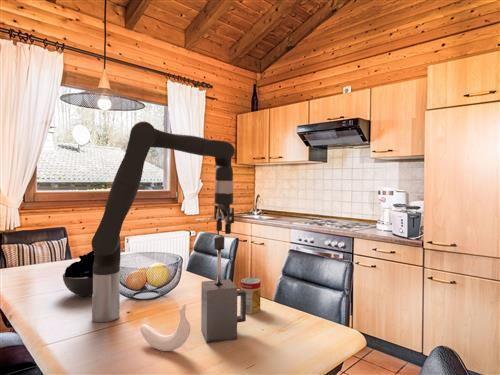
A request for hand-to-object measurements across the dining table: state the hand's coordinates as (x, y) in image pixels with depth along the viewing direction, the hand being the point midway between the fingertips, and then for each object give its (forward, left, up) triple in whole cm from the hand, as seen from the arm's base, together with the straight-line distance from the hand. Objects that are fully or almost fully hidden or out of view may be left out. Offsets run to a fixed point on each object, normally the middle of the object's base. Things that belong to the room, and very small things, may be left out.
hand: (223, 232), depth 141 cm
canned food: (+10, -5, -31) cm, 33 cm away
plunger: (-7, -23, -16) cm, 29 cm away
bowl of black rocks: (-54, +33, -31) cm, 70 cm away
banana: (-25, -28, -31) cm, 49 cm away
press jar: (-5, -23, -31) cm, 39 cm away
